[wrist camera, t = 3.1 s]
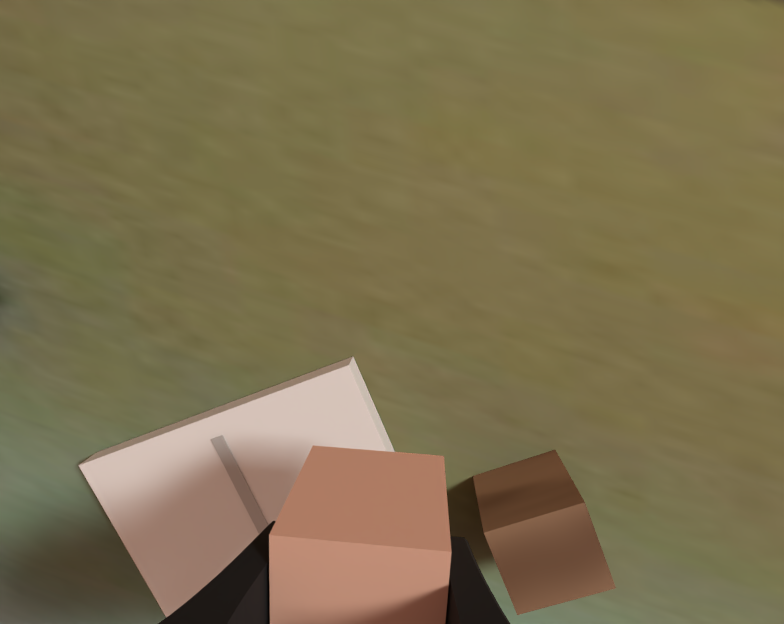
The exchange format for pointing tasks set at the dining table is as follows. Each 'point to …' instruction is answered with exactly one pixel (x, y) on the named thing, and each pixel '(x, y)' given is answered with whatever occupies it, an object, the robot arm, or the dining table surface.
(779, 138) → the dining table surface
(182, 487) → the baseplate
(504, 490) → the walnut block
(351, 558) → the terracotta block
